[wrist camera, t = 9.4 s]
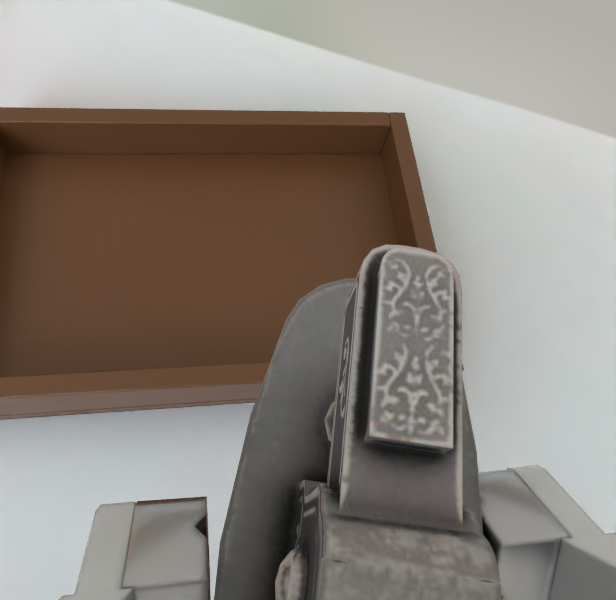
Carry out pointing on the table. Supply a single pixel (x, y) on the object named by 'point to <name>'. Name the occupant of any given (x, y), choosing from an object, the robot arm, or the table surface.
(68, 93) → the table surface
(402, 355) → the lighter
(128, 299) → the tray
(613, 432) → the table surface
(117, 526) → the robot arm
